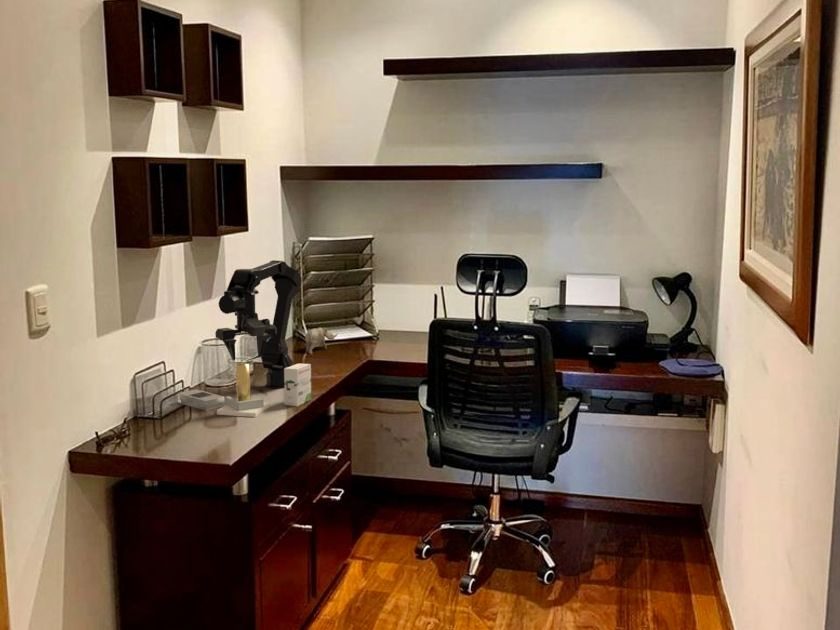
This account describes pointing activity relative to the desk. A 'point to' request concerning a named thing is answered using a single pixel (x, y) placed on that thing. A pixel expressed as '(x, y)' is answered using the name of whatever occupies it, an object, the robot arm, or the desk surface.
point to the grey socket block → (202, 399)
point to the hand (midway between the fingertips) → (246, 358)
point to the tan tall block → (243, 381)
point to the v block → (243, 407)
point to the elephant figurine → (317, 338)
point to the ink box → (297, 384)
